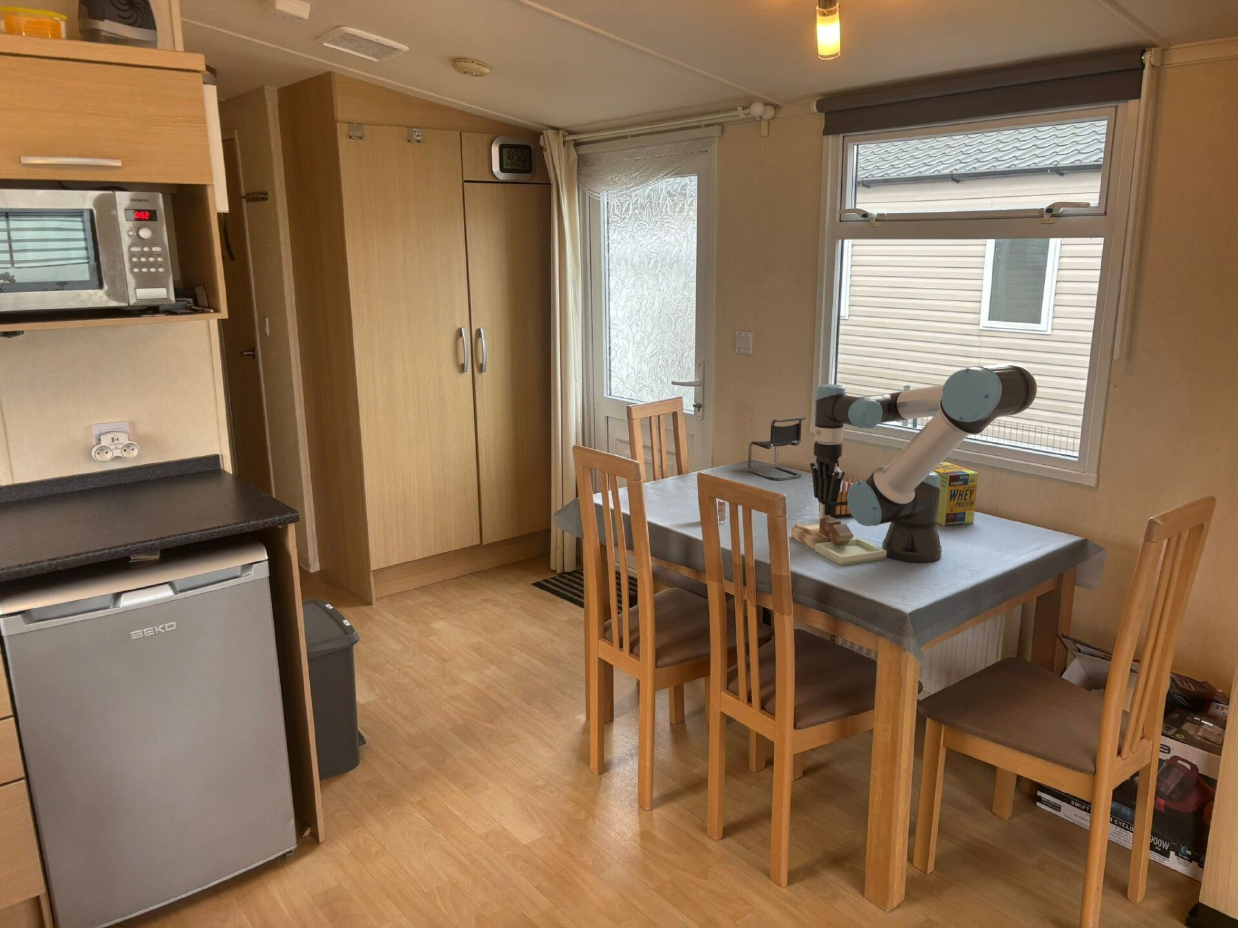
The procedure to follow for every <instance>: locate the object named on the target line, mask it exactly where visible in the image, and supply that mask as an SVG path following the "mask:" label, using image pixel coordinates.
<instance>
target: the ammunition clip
mask: <svg viewBox="0 0 1238 928" xmlns="http://www.w3.org/2000/svg"><path fill="white" fill-rule="evenodd" d="M846 481H848V482H846ZM858 481H863V480H862V477H860V478H859V480H858ZM855 482H857V478H853V481H852V480H851V478H848V480H846V478H844V479H842V482H841V486H840V491H839V496H838V500H837V502H836V503H832V508H831V516H830V518H831V517H832V518H835V519H848V518H853V516H852V515H851V513H850V511H849V508H848V500H847V494H848V490H849V488H850V486H851V485H852V484H853V483H855Z"/></svg>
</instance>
